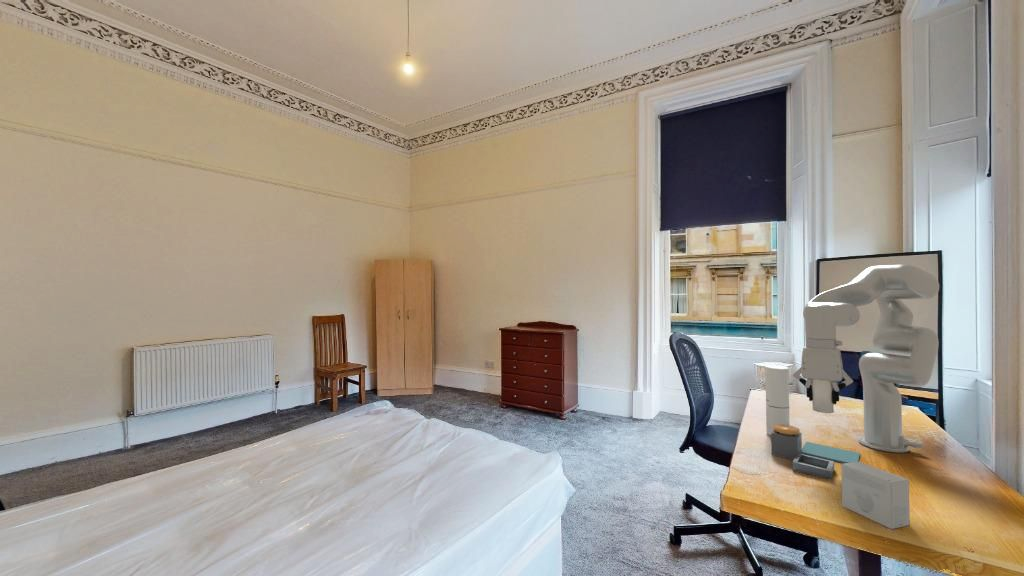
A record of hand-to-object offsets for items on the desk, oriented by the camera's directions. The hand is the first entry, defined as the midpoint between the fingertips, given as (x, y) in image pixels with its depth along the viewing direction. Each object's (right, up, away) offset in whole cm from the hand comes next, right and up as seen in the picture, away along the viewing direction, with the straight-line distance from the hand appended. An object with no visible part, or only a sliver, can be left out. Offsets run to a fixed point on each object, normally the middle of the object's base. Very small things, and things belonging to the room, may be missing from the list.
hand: (822, 401), depth 123 cm
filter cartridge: (0, -3, 0) cm, 3 cm away
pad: (+6, -19, +5) cm, 20 cm away
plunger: (-8, -15, +5) cm, 18 cm away
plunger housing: (-8, -19, +5) cm, 21 cm away
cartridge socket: (-8, -19, -6) cm, 21 cm away
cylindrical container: (+1, -19, +23) cm, 30 cm away
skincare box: (-11, -19, -30) cm, 37 cm away
